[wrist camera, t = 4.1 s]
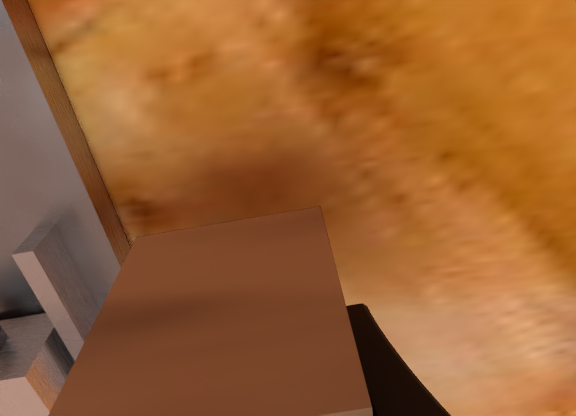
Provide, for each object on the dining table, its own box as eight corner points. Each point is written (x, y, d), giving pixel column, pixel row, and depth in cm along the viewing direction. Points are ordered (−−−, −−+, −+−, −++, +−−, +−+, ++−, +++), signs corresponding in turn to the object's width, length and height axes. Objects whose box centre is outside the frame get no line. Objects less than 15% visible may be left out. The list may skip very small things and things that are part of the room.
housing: (339, 340, 14) (407, 656, 7) (187, 364, 14) (122, 694, 7) (319, 206, 11) (396, 500, 5) (136, 236, 11) (-25, 562, 5)
